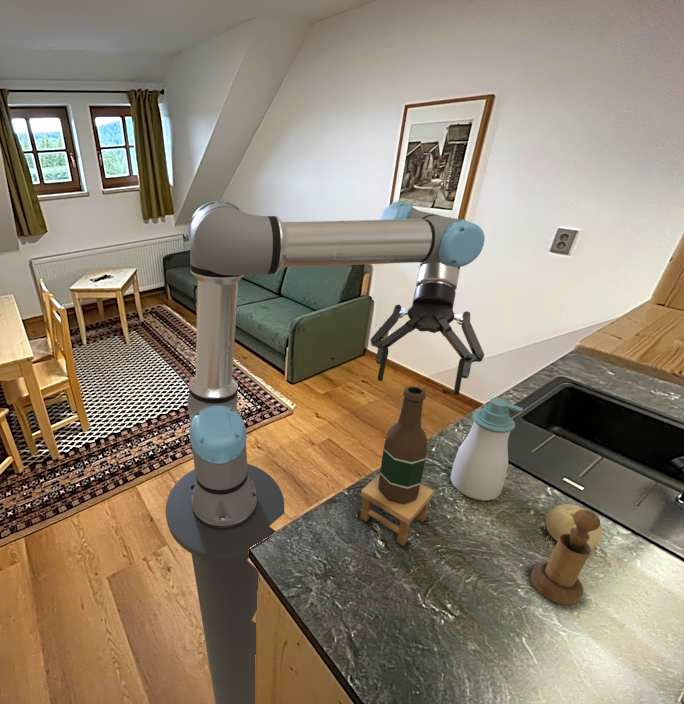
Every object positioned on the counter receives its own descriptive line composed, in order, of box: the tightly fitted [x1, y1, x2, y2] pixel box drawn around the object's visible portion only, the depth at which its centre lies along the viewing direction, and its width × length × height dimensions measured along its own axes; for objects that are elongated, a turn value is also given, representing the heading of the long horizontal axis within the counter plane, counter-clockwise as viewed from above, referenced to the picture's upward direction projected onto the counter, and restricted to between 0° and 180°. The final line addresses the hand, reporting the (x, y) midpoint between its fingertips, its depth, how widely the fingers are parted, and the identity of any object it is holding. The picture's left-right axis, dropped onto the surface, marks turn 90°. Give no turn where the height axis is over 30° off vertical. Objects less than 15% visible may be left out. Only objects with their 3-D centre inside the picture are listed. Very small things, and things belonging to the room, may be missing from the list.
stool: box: [359, 472, 435, 547], centre depth 82 cm, size 10×10×8 cm
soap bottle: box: [450, 397, 524, 502], centre depth 85 cm, size 10×10×23 cm
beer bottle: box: [378, 385, 428, 505], centre depth 75 cm, size 8×8×24 cm
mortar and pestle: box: [530, 508, 601, 607], centre depth 65 cm, size 7×6×18 cm
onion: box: [544, 503, 603, 550], centre depth 75 cm, size 8×8×8 cm
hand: (416, 386), depth 79 cm, fingers open, 13 cm apart
